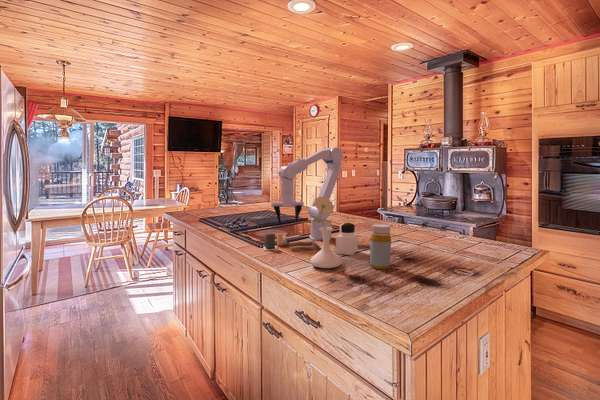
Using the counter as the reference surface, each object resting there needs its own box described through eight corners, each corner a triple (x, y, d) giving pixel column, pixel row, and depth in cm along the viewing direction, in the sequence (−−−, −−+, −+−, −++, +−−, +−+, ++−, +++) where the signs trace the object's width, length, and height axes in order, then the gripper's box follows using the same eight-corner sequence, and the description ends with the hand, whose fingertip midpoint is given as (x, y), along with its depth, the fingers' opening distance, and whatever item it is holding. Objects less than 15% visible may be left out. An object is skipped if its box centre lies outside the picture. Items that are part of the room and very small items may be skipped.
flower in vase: (348, 267, 120) (349, 197, 117) (322, 273, 114) (323, 199, 111) (326, 258, 131) (326, 193, 128) (301, 263, 125) (301, 195, 122)
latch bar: (284, 239, 160) (284, 229, 160) (287, 245, 150) (287, 234, 150) (275, 240, 160) (275, 229, 159) (277, 245, 150) (277, 234, 149)
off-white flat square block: (276, 246, 149) (276, 245, 149) (277, 250, 143) (277, 249, 143) (263, 247, 148) (263, 246, 148) (264, 250, 142) (264, 250, 142)
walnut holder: (314, 243, 154) (314, 241, 153) (319, 249, 144) (319, 246, 144) (288, 244, 152) (288, 242, 151) (291, 250, 142) (291, 248, 142)
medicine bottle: (357, 251, 141) (358, 222, 140) (352, 255, 135) (353, 225, 133) (341, 249, 144) (341, 221, 143) (335, 253, 138) (335, 224, 136)
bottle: (367, 264, 124) (368, 223, 122) (386, 263, 125) (387, 223, 123) (373, 270, 117) (374, 227, 115) (392, 269, 118) (394, 227, 116)
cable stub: (276, 246, 147) (275, 233, 146) (273, 249, 143) (273, 235, 142) (267, 246, 148) (267, 232, 147) (264, 248, 144) (264, 235, 143)
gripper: (301, 191, 158) (301, 220, 160) (270, 192, 156) (271, 221, 157) (304, 193, 151) (304, 223, 153) (271, 193, 149) (272, 224, 150)
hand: (287, 222), depth 155 cm, fingers open, 7 cm apart
